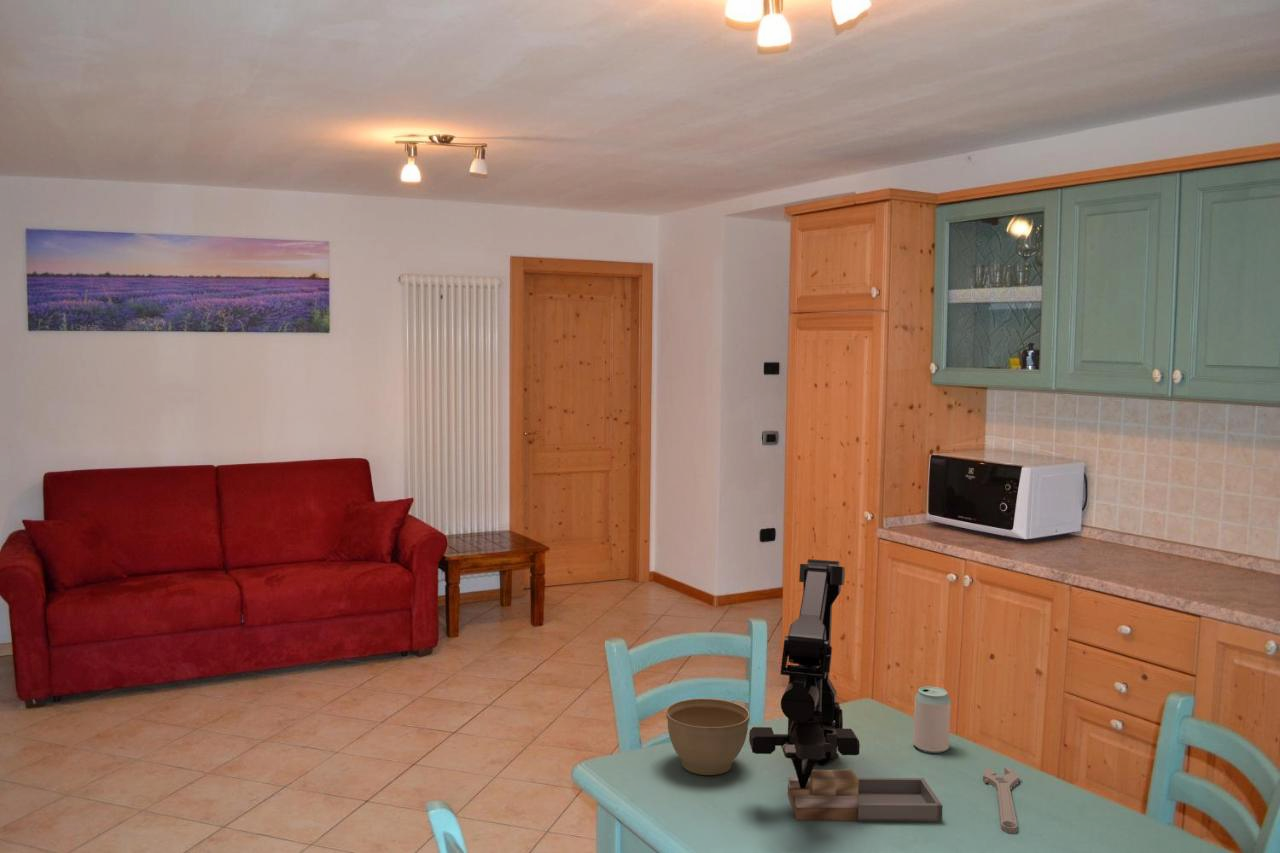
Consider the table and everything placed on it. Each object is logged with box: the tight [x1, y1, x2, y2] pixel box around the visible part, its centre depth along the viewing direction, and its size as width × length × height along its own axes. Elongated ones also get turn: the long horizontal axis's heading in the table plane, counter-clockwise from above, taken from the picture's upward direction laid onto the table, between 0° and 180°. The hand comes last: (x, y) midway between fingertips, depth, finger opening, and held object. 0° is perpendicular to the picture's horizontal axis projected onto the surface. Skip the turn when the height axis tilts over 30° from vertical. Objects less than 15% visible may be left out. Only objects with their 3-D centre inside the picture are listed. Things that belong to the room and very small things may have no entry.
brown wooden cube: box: [809, 769, 836, 796], centre depth 177 cm, size 4×4×4 cm
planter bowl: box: [665, 698, 751, 776], centre depth 193 cm, size 16×16×11 cm
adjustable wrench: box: [982, 767, 1020, 835], centre depth 181 cm, size 25×6×2 cm, turn 159°
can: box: [912, 686, 952, 754], centre depth 204 cm, size 7×7×12 cm
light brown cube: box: [831, 769, 859, 800], centre depth 177 cm, size 4×4×4 cm
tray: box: [857, 777, 944, 823], centre depth 177 cm, size 14×11×3 cm
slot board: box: [787, 776, 858, 822], centre depth 177 cm, size 10×10×4 cm
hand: (802, 787), depth 177 cm, fingers closed
